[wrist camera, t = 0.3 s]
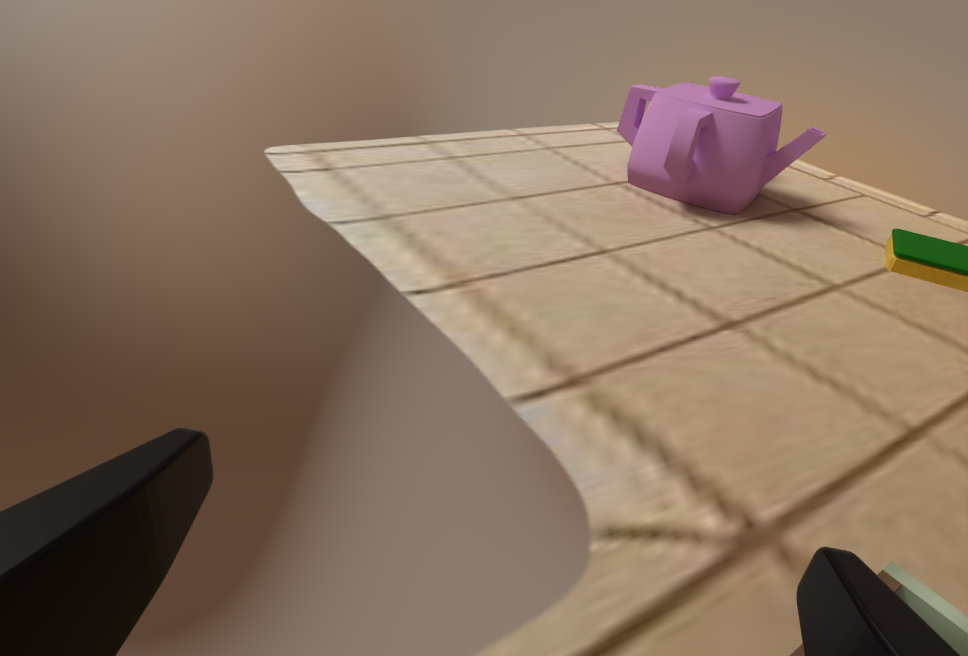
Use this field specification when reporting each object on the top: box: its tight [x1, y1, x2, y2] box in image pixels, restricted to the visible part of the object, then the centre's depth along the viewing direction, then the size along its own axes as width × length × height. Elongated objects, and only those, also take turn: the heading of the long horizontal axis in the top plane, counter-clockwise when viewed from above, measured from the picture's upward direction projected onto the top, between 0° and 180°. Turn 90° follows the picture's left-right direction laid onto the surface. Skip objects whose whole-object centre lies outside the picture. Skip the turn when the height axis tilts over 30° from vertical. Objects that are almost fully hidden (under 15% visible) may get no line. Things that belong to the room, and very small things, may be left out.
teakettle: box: [617, 76, 826, 214], centre depth 71 cm, size 17×17×12 cm
